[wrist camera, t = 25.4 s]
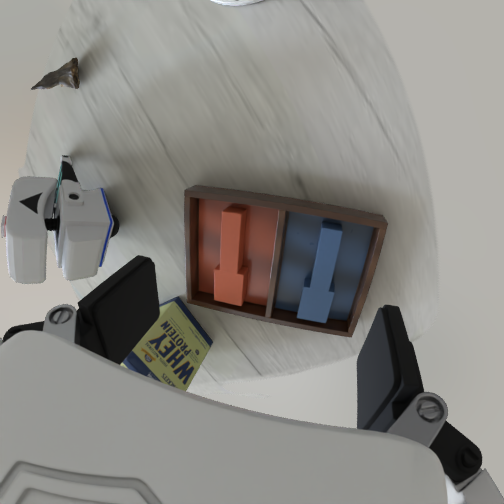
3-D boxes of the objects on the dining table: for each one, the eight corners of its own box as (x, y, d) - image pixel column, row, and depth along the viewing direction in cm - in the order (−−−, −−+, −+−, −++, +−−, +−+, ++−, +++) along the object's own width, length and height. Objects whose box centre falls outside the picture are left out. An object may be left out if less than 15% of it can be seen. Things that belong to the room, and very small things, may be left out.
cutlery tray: (195, 185, 35) (184, 190, 32) (382, 215, 31) (388, 223, 28) (195, 291, 42) (186, 302, 40) (350, 323, 38) (351, 337, 35)
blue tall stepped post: (315, 219, 32) (314, 226, 30) (348, 225, 32) (349, 232, 29) (298, 308, 38) (296, 318, 36) (326, 313, 37) (325, 324, 35)
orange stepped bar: (222, 205, 35) (215, 210, 32) (253, 209, 34) (248, 215, 32) (219, 291, 40) (213, 300, 38) (245, 297, 39) (241, 307, 37)
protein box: (215, 341, 46) (177, 411, 32) (159, 356, 52) (121, 410, 39) (178, 294, 43) (125, 357, 30) (128, 318, 50) (80, 368, 36)
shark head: (59, 103, 35) (31, 105, 29) (58, 73, 32) (30, 73, 26) (86, 85, 32) (56, 84, 26) (85, 54, 30) (55, 50, 24)
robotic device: (112, 160, 45) (14, 150, 30) (140, 234, 35) (-6, 232, 20) (98, 205, 50) (9, 201, 35) (123, 285, 39) (2, 292, 25)
